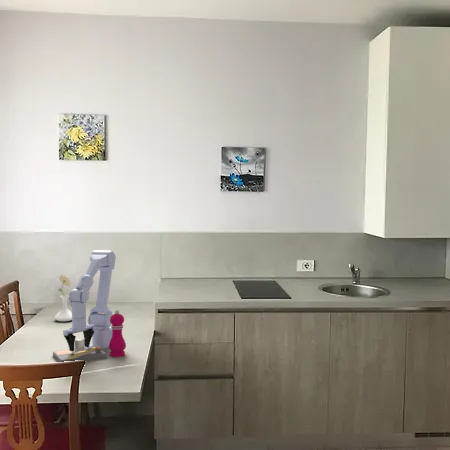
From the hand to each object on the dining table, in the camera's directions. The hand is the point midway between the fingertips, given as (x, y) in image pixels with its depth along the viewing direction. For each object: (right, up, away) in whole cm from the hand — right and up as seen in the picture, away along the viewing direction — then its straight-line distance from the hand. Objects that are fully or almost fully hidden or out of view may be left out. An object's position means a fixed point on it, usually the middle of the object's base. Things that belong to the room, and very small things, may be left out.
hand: (79, 348), depth 241 cm
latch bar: (+4, -1, -5) cm, 6 cm away
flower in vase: (-26, 0, +71) cm, 75 cm away
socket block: (0, -4, 0) cm, 4 cm away
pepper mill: (+15, -4, +4) cm, 16 cm away
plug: (0, -4, 0) cm, 3 cm away
